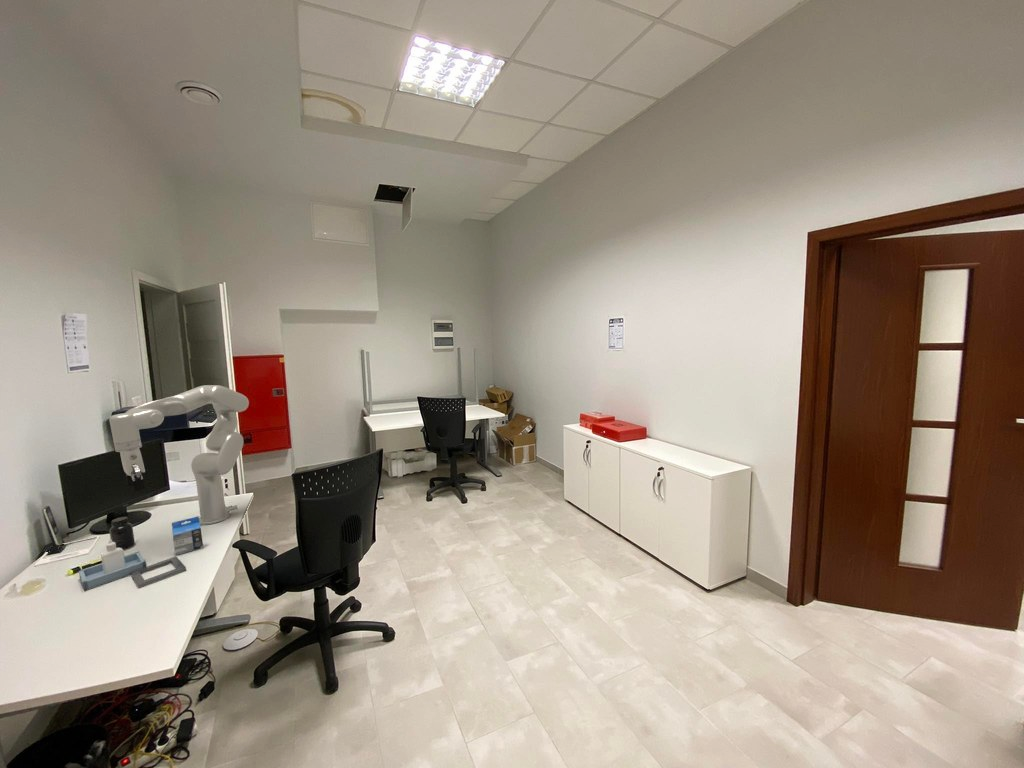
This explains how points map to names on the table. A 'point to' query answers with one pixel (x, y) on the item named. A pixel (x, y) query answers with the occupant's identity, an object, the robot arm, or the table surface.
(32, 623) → the table surface
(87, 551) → the photo frame
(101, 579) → the tray
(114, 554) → the eye dropper bottle
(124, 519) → the supplement bottle
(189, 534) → the label tape box
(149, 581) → the gray square frame
